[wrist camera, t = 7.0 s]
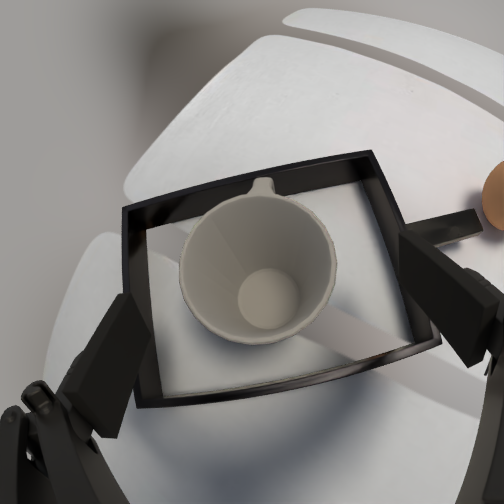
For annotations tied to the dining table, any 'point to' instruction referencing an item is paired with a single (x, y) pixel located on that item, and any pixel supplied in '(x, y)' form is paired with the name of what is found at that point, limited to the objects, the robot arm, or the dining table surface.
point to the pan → (285, 183)
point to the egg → (494, 197)
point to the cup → (257, 267)
